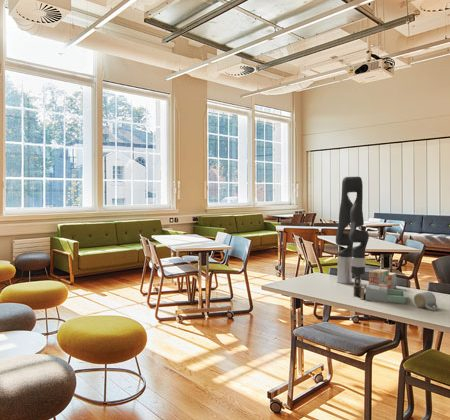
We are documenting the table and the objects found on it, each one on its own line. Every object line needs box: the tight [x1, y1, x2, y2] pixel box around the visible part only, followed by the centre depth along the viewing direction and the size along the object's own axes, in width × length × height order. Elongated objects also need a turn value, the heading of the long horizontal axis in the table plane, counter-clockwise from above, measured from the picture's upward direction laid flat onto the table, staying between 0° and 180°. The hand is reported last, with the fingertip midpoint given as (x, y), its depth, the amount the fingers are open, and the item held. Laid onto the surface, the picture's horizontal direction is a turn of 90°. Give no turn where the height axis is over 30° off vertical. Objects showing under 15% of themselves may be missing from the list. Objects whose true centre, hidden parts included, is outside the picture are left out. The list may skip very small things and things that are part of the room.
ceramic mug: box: [413, 290, 438, 311], centre depth 204 cm, size 11×8×8 cm
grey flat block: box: [365, 284, 388, 303], centre depth 224 cm, size 16×11×5 cm
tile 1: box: [379, 287, 387, 292], centre depth 219 cm, size 4×4×2 cm
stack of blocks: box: [368, 268, 397, 290], centre depth 243 cm, size 21×6×12 cm, turn 130°
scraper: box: [353, 285, 366, 300], centre depth 228 cm, size 16×6×5 cm, turn 159°
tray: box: [387, 289, 408, 305], centre depth 220 cm, size 17×10×4 cm, turn 159°
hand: (357, 295), depth 228 cm, fingers closed on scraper, 4 cm apart
